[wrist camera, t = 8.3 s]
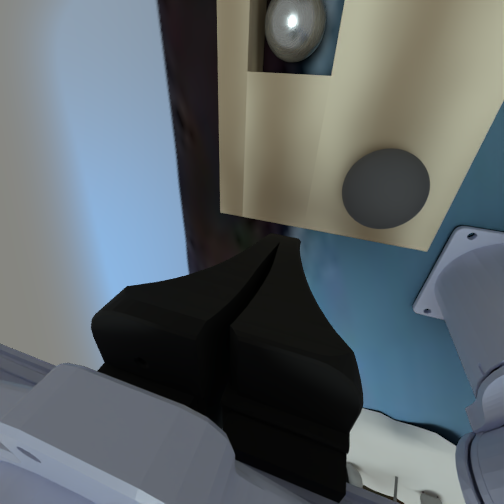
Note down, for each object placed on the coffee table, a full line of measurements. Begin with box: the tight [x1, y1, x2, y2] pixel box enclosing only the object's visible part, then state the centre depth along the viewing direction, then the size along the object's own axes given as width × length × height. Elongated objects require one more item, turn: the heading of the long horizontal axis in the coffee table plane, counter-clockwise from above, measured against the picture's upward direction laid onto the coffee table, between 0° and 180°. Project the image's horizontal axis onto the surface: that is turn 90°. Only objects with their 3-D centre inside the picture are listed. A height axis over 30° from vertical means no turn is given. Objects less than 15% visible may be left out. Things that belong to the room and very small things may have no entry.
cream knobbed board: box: [217, 0, 504, 252], centre depth 13 cm, size 14×22×3 cm, turn 177°
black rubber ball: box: [342, 148, 430, 229], centre depth 13 cm, size 4×4×4 cm
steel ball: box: [265, 0, 327, 62], centre depth 14 cm, size 3×3×3 cm
